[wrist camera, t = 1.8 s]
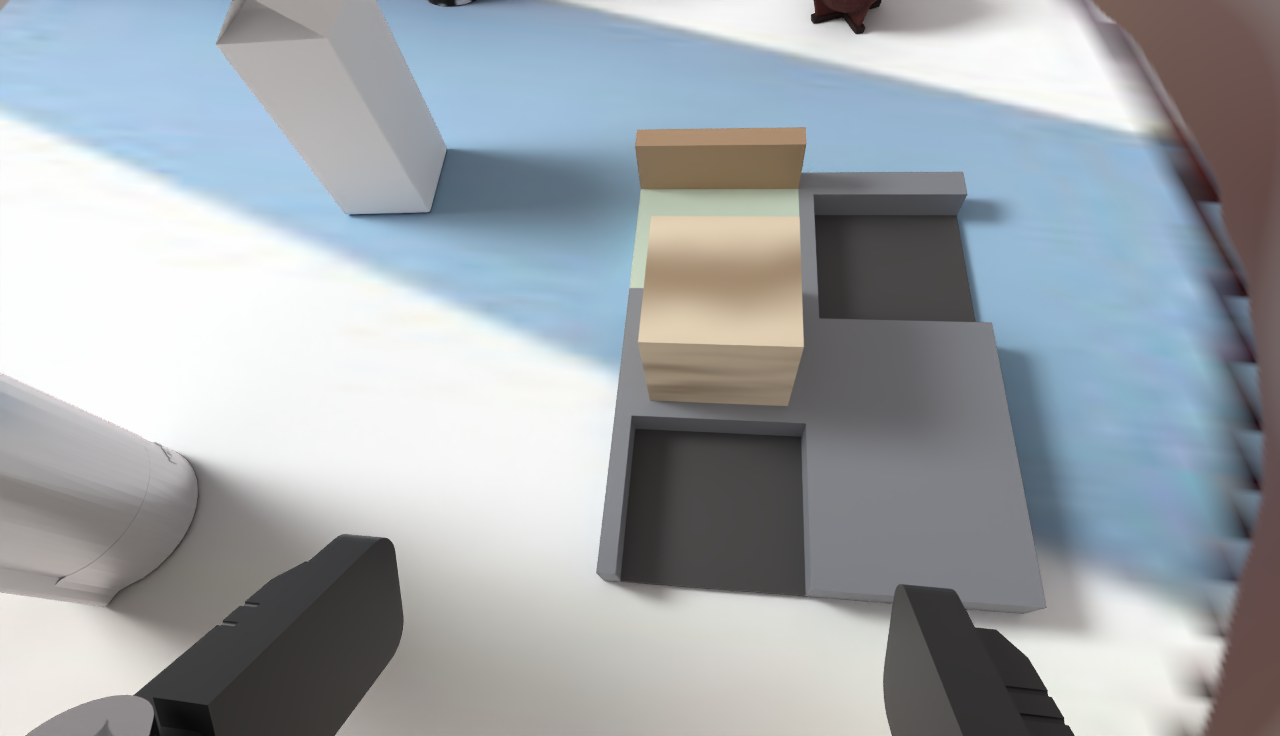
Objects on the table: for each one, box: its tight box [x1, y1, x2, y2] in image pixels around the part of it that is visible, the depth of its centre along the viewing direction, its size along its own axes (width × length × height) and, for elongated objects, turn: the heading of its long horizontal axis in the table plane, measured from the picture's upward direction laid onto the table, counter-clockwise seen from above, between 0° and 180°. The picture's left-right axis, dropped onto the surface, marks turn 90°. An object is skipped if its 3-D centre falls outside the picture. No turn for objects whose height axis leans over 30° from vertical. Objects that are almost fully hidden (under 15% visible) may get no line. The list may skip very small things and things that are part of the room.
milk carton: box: [216, 0, 447, 214], centre depth 43 cm, size 7×7×19 cm
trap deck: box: [596, 127, 1046, 614], centre depth 37 cm, size 28×22×6 cm
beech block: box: [638, 216, 804, 406], centre depth 35 cm, size 8×8×7 cm
